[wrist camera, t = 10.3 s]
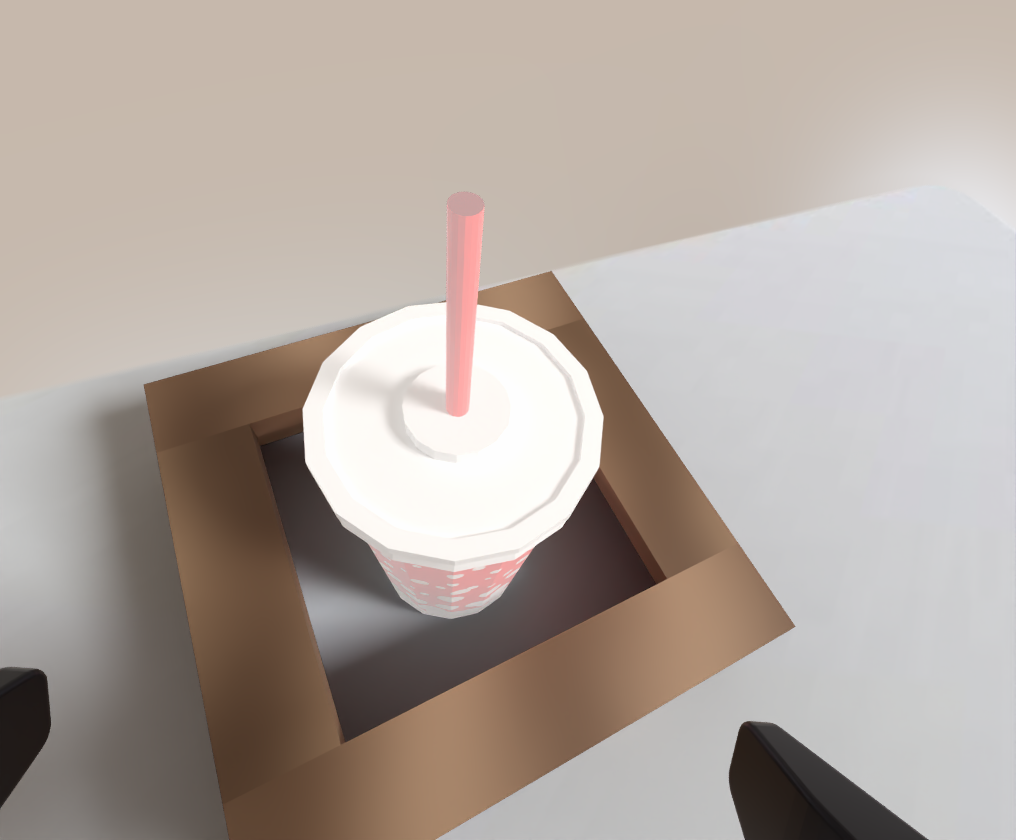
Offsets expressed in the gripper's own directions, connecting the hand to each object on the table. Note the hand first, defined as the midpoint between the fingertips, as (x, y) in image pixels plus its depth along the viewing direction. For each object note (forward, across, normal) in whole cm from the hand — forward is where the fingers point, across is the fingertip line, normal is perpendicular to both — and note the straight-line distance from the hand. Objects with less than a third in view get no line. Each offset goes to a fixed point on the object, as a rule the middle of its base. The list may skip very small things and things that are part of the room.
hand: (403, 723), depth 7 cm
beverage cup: (+12, 0, +3) cm, 12 cm away
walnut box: (+11, 0, +3) cm, 12 cm away
